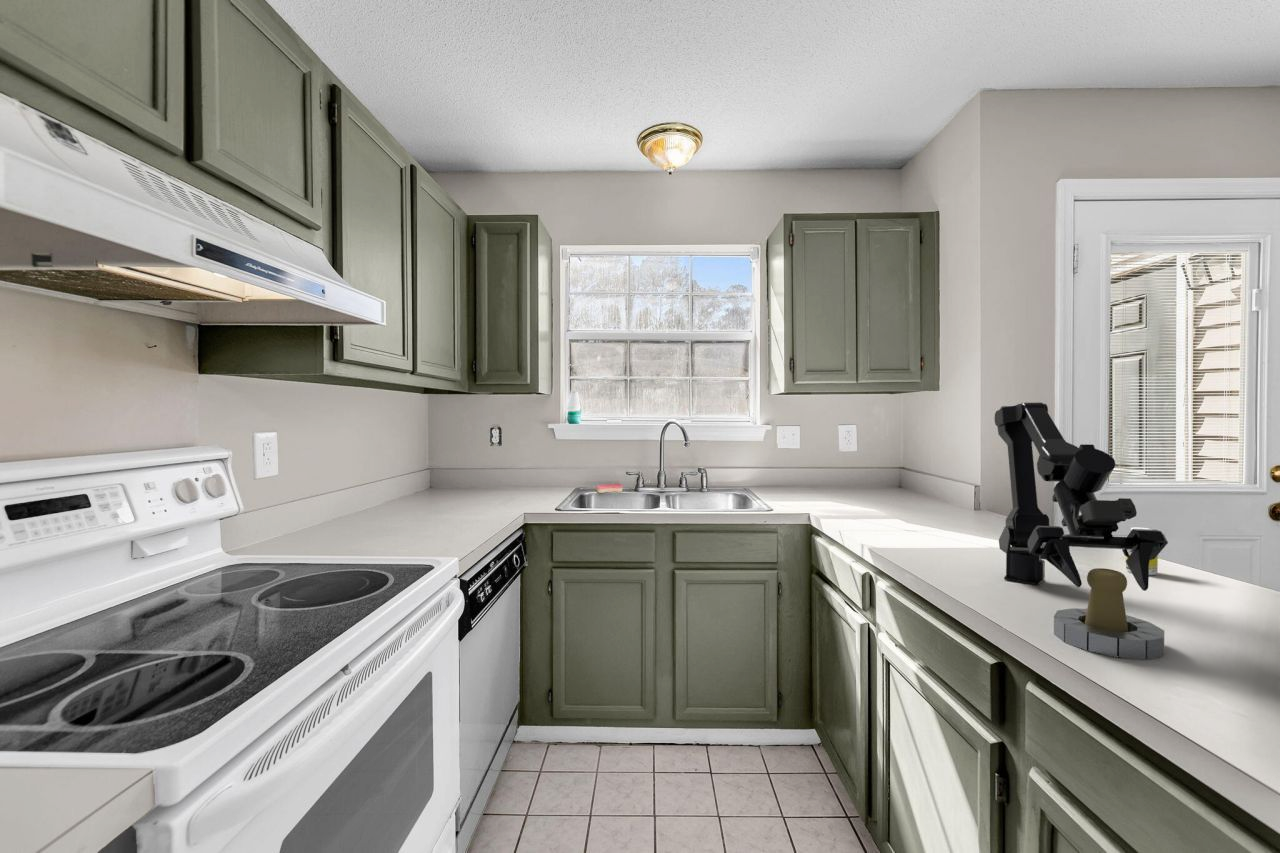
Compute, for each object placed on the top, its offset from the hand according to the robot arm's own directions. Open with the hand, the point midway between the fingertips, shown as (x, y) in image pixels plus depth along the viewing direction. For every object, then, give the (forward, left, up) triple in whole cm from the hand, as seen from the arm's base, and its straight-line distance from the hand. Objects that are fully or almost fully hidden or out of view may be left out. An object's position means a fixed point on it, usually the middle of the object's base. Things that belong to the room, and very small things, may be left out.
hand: (1112, 587), depth 95 cm
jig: (-1, +1, -9) cm, 9 cm away
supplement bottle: (+1, +56, -10) cm, 57 cm away
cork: (-1, +1, -9) cm, 9 cm away
